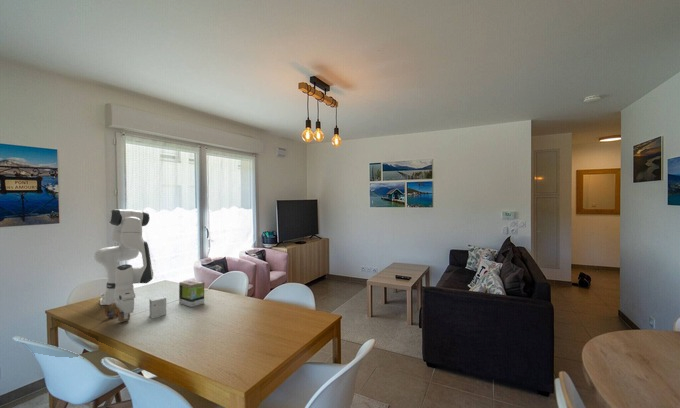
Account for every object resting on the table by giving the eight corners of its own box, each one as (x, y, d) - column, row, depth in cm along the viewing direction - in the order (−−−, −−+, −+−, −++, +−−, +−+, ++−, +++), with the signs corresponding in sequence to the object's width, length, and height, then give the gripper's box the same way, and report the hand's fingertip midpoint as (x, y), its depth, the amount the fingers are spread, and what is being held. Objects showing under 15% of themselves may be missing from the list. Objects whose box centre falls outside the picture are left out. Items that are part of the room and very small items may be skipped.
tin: (108, 319, 169) (108, 305, 169) (103, 319, 170) (103, 305, 170) (131, 310, 184) (131, 297, 184) (127, 310, 185) (127, 297, 185)
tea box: (204, 303, 198) (205, 281, 198) (190, 307, 190) (190, 285, 190) (192, 299, 206) (192, 278, 206) (178, 303, 198) (178, 282, 198)
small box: (164, 312, 181) (164, 295, 181) (166, 314, 177) (166, 297, 177) (149, 315, 175) (149, 298, 175) (151, 318, 171) (151, 300, 171)
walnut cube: (118, 320, 166) (118, 312, 166) (127, 317, 169) (127, 310, 169) (120, 322, 163) (120, 314, 163) (129, 319, 167) (129, 312, 167)
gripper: (112, 291, 170) (112, 314, 170) (122, 298, 157) (122, 323, 157) (125, 288, 175) (125, 311, 175) (136, 295, 162) (136, 320, 162)
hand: (124, 317), depth 166 cm, fingers closed on walnut cube, 4 cm apart
